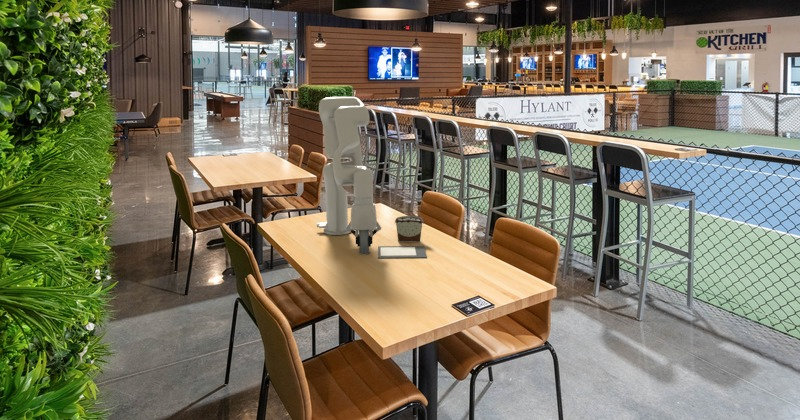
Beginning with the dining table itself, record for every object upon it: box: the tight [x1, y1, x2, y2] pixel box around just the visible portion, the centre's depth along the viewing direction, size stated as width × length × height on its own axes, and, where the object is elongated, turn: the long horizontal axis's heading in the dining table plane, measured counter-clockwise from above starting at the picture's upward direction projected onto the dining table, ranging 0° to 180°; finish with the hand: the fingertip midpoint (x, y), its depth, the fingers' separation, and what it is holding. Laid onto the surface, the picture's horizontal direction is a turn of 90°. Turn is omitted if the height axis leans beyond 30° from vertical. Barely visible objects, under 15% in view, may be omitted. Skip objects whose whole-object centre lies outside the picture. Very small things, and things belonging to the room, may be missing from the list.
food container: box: [394, 215, 424, 243], centre depth 249 cm, size 12×6×10 cm, turn 84°
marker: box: [358, 230, 370, 255], centre depth 230 cm, size 4×4×13 cm
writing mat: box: [377, 245, 428, 259], centre depth 232 cm, size 19×15×1 cm
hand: (364, 245), depth 231 cm, fingers closed on marker, 3 cm apart
